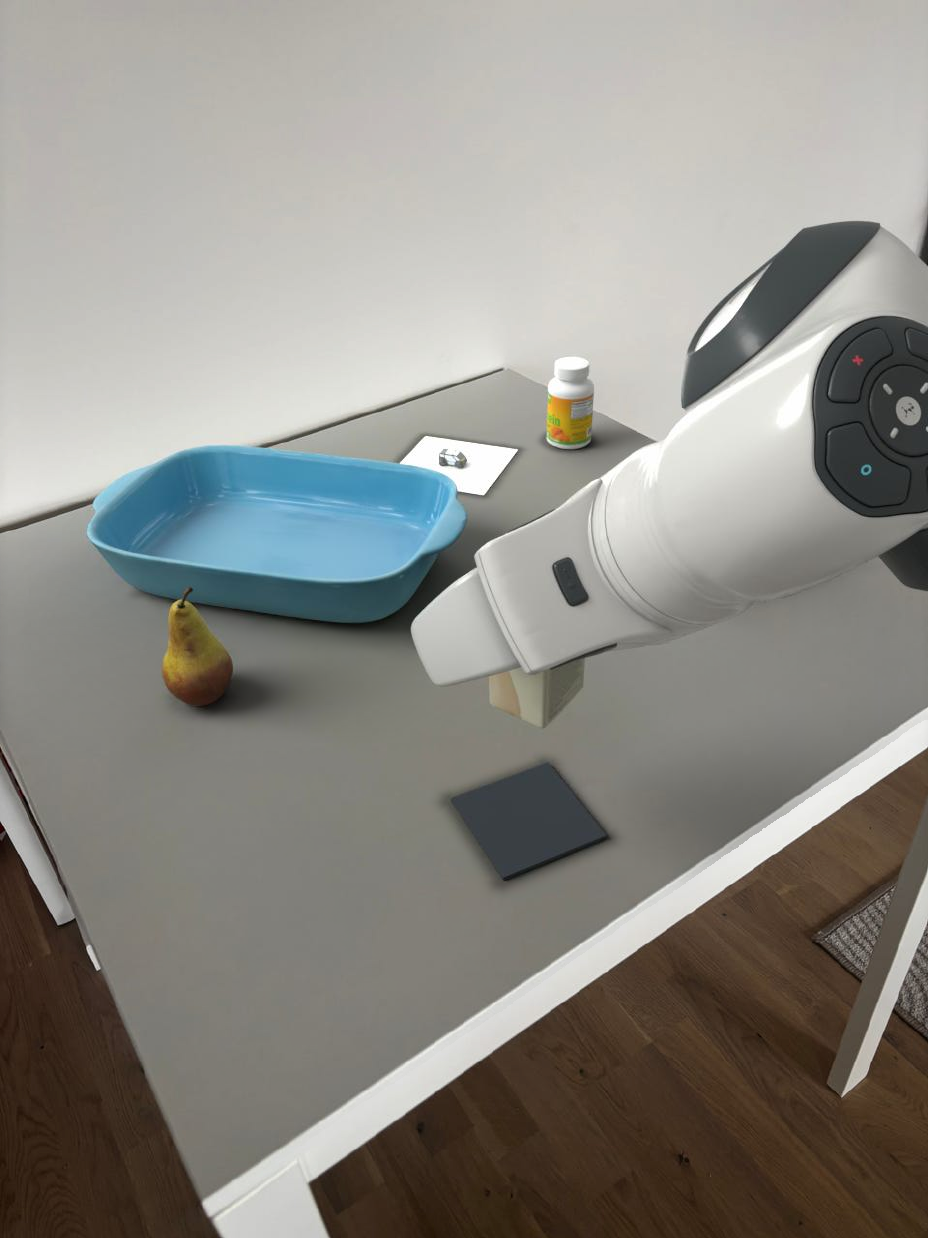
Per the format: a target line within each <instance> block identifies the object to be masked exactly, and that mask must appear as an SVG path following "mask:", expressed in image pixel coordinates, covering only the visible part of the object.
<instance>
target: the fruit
mask: <svg viewBox="0 0 928 1238" xmlns="http://www.w3.org/2000/svg"><path fill="white" fill-rule="evenodd" d="M192 591H193V589H192V588H191V587H190V586H189V587H188V588H187V589H186V591H185V593H184V595H183V598H182V600H175V602H173V603H172V604H171V606H170V608H169V611H168V612H169V613H168V632H169V633H168V634H169V636H168V637H169V638H168V642H167V650H166V651H165V654H164V657H163V660H162V663H161V674H162V679H163V682H164V684H165V686H166V689H167V690H168V691H169V693H170V694H171V695H173V696H174V697H175V698H176V699H178V701H181V702H183V703H184V704H186V705H190V706H196V707H202V706H207V705H210V704H212V703H214V702H216V701H217V700H218V699H220V697H221V696H222V695H223V694H224V693H225V692H226V690H227V689H228V688H229V685H230V683H231V681H232V677H233V674H234V664H233V659H232V658H231V656H230V653H229V652H228V650H227V649H226V648H225V646H224V645H223V644H222V643H221V642H220V641H219V639H218V638H217V637H216V636H215V635H214V634H213V632H212V631H211V630H210V629H209V627H208V625H207V623H206V622H205V620H204V618H203V617H202V616H201V614H200V612H199V611H198V609H197V608H196V607H195V606H194V605H193V603H192V602H189V601H185V599H186V597H187V596H188V594H189V593H190V592H192Z"/></svg>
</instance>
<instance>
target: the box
mask: <svg viewBox="0 0 928 1238" xmlns="http://www.w3.org/2000/svg"><path fill="white" fill-rule="evenodd" d="M585 661H586V658H583V659H580V660H577V661H574V662H571V663H568V664H566V665H563V666H560V667H558V668H555V669H553V670H550V669H547V670H545V671H543V672H540V673H538V674H536V675H528V674H526V673H525V672H524V670H523V668H522V667H520V668H517V669H514V670H510V671H507V672H503V673H500V674H496V675H492V676H489V677H488V682H489V683H488V686H489V687H488V689H489V692H488V693H489V694H488V695H489V705H490V706H492V707H494V708H495V709H498V710H501V711H503V712H505V713H507V714H509V715H511V716H513V717H516V718H518V719H520V720H522V721H524V722H526V723H529V724H530V725H533V726H535V727H538V728H540V729H546V728H547V727H548V726H549V725H550V724H551V723H552V722H553V721H554V720H555V719H557V717H558V716H559V715H560V714H561V713H562V712H563V710H565V708H566V707H567V706H568V705H569V704H570V703H571V702H572V701H573V700H574V698H576V696H577V695H578V694H579V693H580V691H582V689H583V688H584V684H585V683H584V681H585Z"/></svg>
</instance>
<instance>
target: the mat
mask: <svg viewBox="0 0 928 1238" xmlns="http://www.w3.org/2000/svg"><path fill="white" fill-rule="evenodd" d="M450 802H451V803H452V804H453V805H452V806H454V808H455V809H456V811H457V812H458V814H459V815H460V817H461V818H462V820H463V821H464V823H465V825H466V826H467V827H468V830H469V831H470V832H471V834H472V835H473V837H474V839H475V840H476V841H477V843H478V844H479V846H480V847H481V849H482V850H483V852H484V854H485V855H486V856H487V858H488V860H489V861H490V863H491V865H492V866H493V868H494V869H495V871H496V872H497V874H498V875H499V877H500V878H501V880H502V881H506V880H508V879H510V878H513V877H515V876H518V875H520V874H522V873H525V872H527V871H530V870H532V869H535V868H537V867H540V866H542V865H544V864H547V863H550V862H552V861H554V860H557V859H559V858H562V857H563V856H566V855H569V854H571V853H574V852H576V851H579V850H581V849H583V848H587V847H589V846H590V845H591V846H592V845H593V844H596V843H598V842H601V841H602V840H606V839H607V836H608V835H607V834H606V832H605V831H604V830H603V829H602V828H601V826H600V824H599V823H597V821H596V820H595V818H593V816H592V815H591V814H590V813H589V811H588V810H587V809H586V807H585V806H584V805H583V803H581V801H580V800H579V799H578V797H577V796H576V795H575V793H574V792H573V791H572V790H571V788H570V787H569V786H568V785H567V784H566V783H565V781H564V780H563V779H562V778H561V777H560V775H559V774H558V772H557V771H556V769H554V767H553V766H552V765H551V764H550V763H549V762H548V761H547V762H544V763H542V764H539V765H536V766H534V767H531V768H529V769H526V770H523V771H521V772H517V773H515V774H512V775H509V776H507V777H504V778H502V779H498V780H496V781H493V782H491V783H488V784H485V785H483V786H479V787H477V788H475V789H472V790H469V791H466V792H464V793H461V794H458V795H457V796H453V797H451V798H450Z"/></svg>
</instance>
